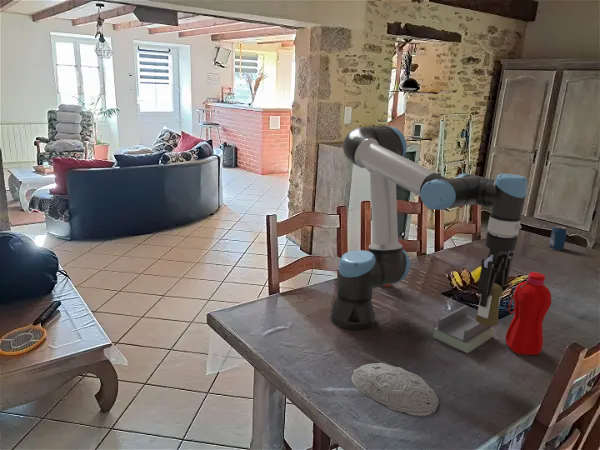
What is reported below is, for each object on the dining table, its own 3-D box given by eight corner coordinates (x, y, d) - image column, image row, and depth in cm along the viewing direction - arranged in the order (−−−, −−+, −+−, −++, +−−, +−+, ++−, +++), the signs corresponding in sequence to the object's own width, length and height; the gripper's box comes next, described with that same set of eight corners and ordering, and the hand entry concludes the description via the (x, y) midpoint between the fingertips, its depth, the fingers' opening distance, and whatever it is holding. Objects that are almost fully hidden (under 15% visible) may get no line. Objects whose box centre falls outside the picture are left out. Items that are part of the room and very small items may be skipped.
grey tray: (467, 353, 137) (470, 332, 135) (433, 337, 146) (435, 317, 144) (492, 336, 147) (496, 317, 145) (459, 322, 156) (462, 304, 154)
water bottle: (496, 339, 145) (509, 267, 138) (530, 341, 145) (545, 268, 138) (507, 355, 137) (522, 279, 130) (544, 357, 136) (561, 280, 129)
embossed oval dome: (430, 425, 106) (433, 398, 105) (337, 389, 119) (339, 366, 118) (449, 397, 119) (452, 373, 118) (362, 368, 132) (364, 346, 131)
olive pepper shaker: (498, 318, 128) (505, 282, 124) (497, 328, 122) (504, 290, 119) (475, 313, 130) (482, 278, 127) (474, 322, 125) (480, 286, 122)
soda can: (564, 248, 240) (569, 227, 237) (561, 251, 235) (565, 229, 232) (550, 245, 245) (554, 224, 241) (546, 248, 240) (551, 226, 236)
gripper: (500, 243, 110) (484, 328, 117) (531, 231, 122) (515, 309, 129) (471, 235, 116) (458, 317, 122) (504, 224, 127) (490, 299, 134)
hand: (487, 313), depth 126 cm, fingers closed on olive pepper shaker, 5 cm apart
